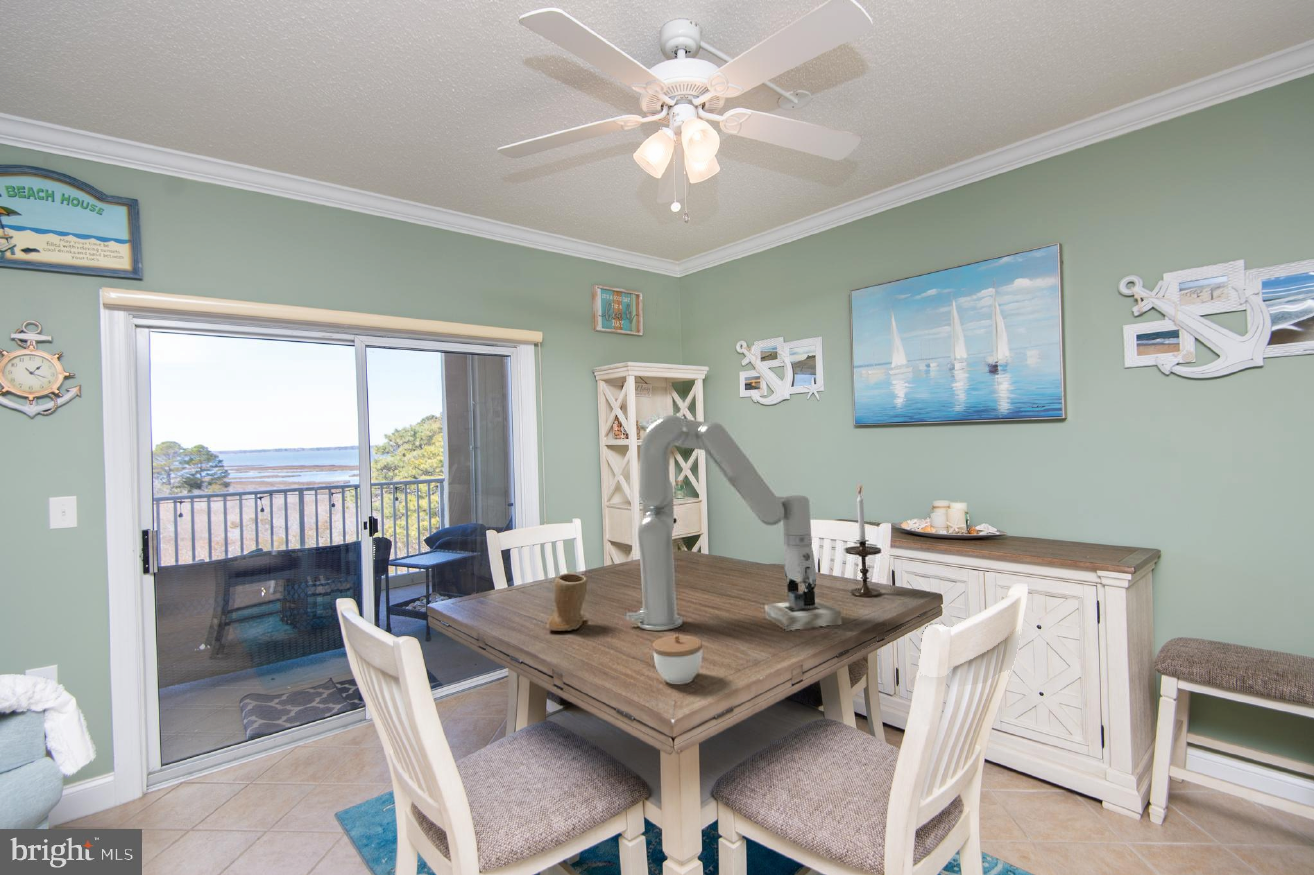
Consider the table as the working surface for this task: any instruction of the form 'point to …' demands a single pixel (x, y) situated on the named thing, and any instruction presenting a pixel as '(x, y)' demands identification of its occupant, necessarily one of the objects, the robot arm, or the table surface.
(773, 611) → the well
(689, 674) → the lidded jar
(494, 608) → the table surface
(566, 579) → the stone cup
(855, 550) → the candlestick
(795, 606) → the upright grey box
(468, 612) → the table surface
